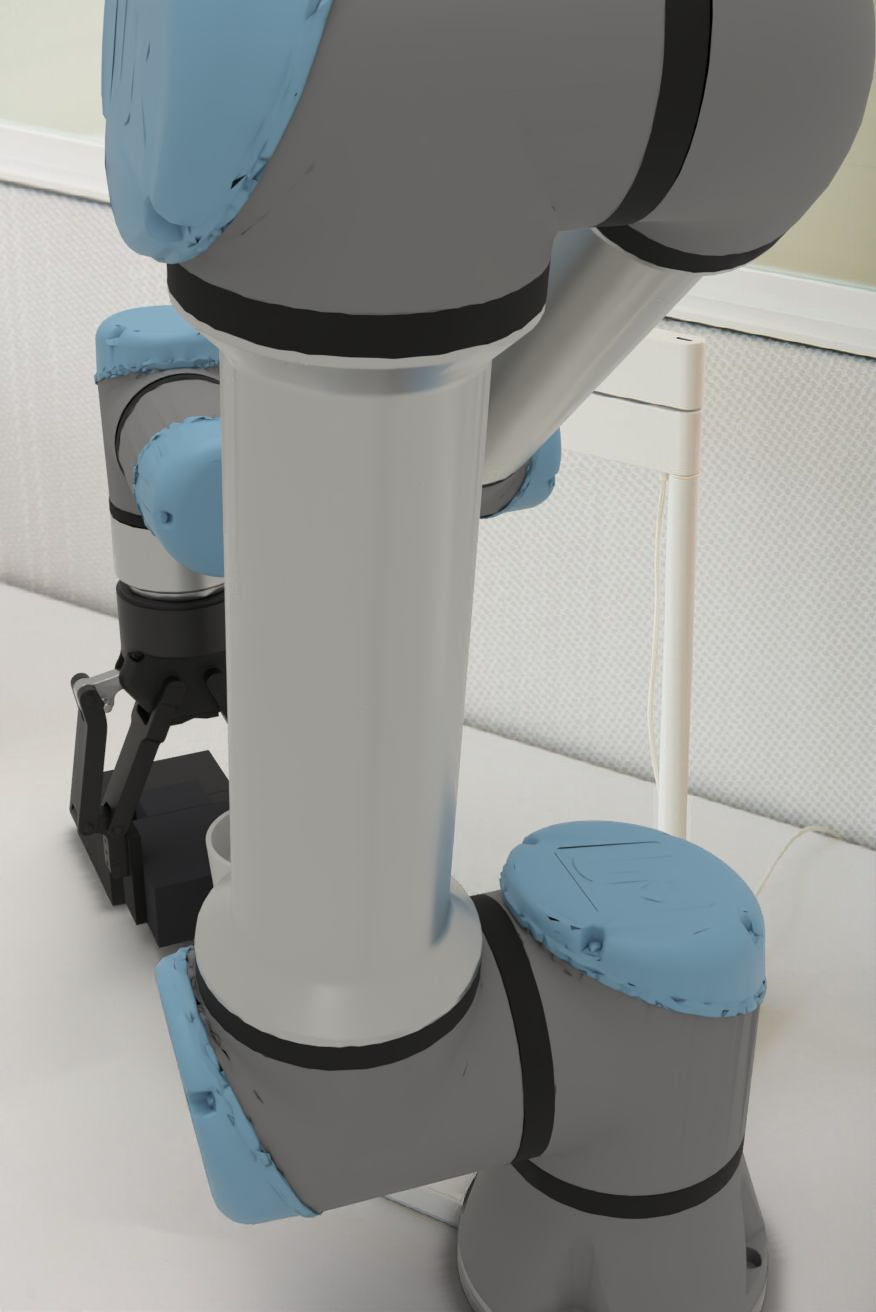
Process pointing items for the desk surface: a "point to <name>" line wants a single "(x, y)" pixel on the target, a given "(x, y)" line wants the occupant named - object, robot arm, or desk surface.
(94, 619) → the desk surface
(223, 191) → the robot arm
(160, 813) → the tab pad
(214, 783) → the notch pad
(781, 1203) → the desk surface
